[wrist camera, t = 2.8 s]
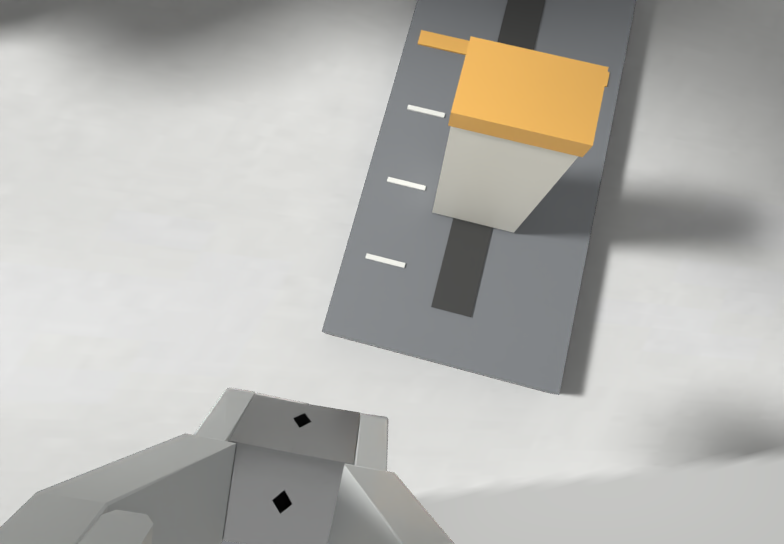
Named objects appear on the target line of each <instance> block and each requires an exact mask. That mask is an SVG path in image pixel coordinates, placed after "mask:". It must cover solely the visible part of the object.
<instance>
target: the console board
mask: <svg viewBox="0 0 784 544" xmlns="http://www.w3.org/2000/svg"><path fill="white" fill-rule="evenodd" d="M635 4H636V0H418V1H417V4H416V8H415V11H414V14H413V18H412V21H411V25H410V28H409V32H408V35H407V39H406V42H405V46H404V49H403V52H402V56H401V59H400V63H399V66H398V70H397V73H396V77H395V80H394V84H393V87H392V91H391V94H390V97H389V101H388V104H387V108H386V111H385V115H384V118H383V122H382V125H381V129H380V132H379V135H378V139H377V142H376V146H375V149H374V153H373V156H372V160H371V163H370V167H369V170H368V174H367V177H366V180H365V184H364V187H363V191H362V194H361V198H360V201H359V205H358V208H357V212H356V215H355V218H354V222H353V225H352V229H351V232H350V236H349V239H348V243H347V246H346V250H345V253H344V257H343V260H342V263H341V267H340V270H339V274H338V277H337V281H336V284H335V288H334V291H333V295H332V298H331V301H330V305H329V308H328V312H327V315H326V319H325V322H324V326H323V329H322V332H324V333H326V334H330V335H333V336H337V337H341V338H345V339H348V340H352V341H356V342H360V343H363V344H367V345H371V346H375V347H378V348H382V349H386V350H390V351H393V352H397V353H401V354H405V355H408V356H412V357H416V358H419V359H423V360H427V361H431V362H434V363H438V364H442V365H446V366H449V367H453V368H457V369H461V370H464V371H468V372H472V373H476V374H479V375H483V376H487V377H491V378H494V379H498V380H502V381H506V382H509V383H513V384H517V385H521V386H524V387H528V388H532V389H536V390H539V391H543V392H547V393H552V394H558V395H559V393H560V388H561V383H562V378H563V373H564V368H565V363H566V357H567V352H568V347H569V342H570V337H571V332H572V327H573V322H574V316H575V311H576V306H577V301H578V296H579V291H580V286H581V281H582V275H583V270H584V265H585V260H586V255H587V250H588V245H589V240H590V234H591V229H592V224H593V219H594V214H595V209H596V204H597V199H598V193H599V188H600V183H601V178H602V173H603V168H604V163H605V158H606V152H607V147H608V142H609V137H610V132H611V127H612V122H613V117H614V111H615V106H616V101H617V96H618V91H619V86H620V81H621V75H622V70H623V65H624V60H625V55H626V50H627V45H628V40H629V34H630V29H631V24H632V19H633V14H634V9H635ZM471 36H472V37H476V38H481V39H485V40H490V41H494V42H499V43H503V44H507V45H512V46H516V47H521V48H525V49H530V50H534V51H539V52H543V53H548V54H552V55H557V56H561V57H566V58H570V59H574V60H579V61H583V62H588V63H592V64H597V65H601V66H606V67H609V68H608V73H607V78H606V82H605V87H604V92H603V97H602V102H601V107H600V112H599V117H598V122H597V127H596V132H595V137H594V142H593V146H592V147H591V148H590V149H589V151H588V152H587V153H586V154H585V155H584V156H583V157H578V158H577V159H576V160H575V161H574V162H573V164H572V165H571V166H570V167H569V168H568V170H567V171H566V172H565V173H564V174H563V175H562V177H561V178H560V179H559V180H558V181H557V182H556V184H555V185H554V186H553V187H552V188H551V190H550V191H549V192H548V193H547V194H546V195H545V197H544V198H543V199H542V200H541V201H540V202H539V204H538V205H537V206H536V207H535V208H534V210H533V211H532V212H531V213H530V214H529V215H528V217H527V218H526V219H525V220H524V221H523V222H522V224H521V225H520V226H519V227H518V228H517V229H516V231H515V232H514V233H513V232H509V231H505V230H501V229H497V228H493V227H489V226H485V225H481V224H477V223H472V222H468V221H464V220H460V219H456V218H452V217H448V216H444V215H440V214H436V213H432V211H433V207H434V202H435V197H436V193H437V188H438V183H439V179H440V174H441V169H442V165H443V160H444V155H445V150H446V146H447V141H448V136H449V132H450V127H451V126H448V123H449V118H450V114H451V109H452V106H453V102H454V98H455V94H456V90H457V87H458V83H459V79H460V75H461V71H462V68H463V64H464V60H465V56H466V52H467V48H468V45H469V41H470V37H471Z"/></svg>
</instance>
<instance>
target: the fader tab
mask: <svg viewBox="0 0 784 544" xmlns="http://www.w3.org/2000/svg"><path fill="white" fill-rule="evenodd" d="M608 68H609V67H606V66H601V65H597V64H592V63H588V62H583V61H579V60H574V59H570V58H566V57H561V56H557V55H552V54H548V53H543V52H539V51H534V50H530V49H525V48H521V47H516V46H512V45H507V44H503V43H499V42H494V41H490V40H485V39H481V38H476V37H472V36H471V37H470V41H469V45H468V48H467V52H466V56H465V60H464V64H463V68H462V71H461V75H460V79H459V83H458V87H457V90H456V94H455V98H454V102H453V106H452V109H451V114H450V118H449V123H448V126H451V127H450V132H449V136H448V141H447V146H446V150H445V155H444V160H443V165H442V169H441V174H440V179H439V183H438V188H437V193H436V197H435V202H434V207H433V211H432V213H436V214H440V215H444V216H448V217H452V218H456V219H460V220H464V221H468V222H472V223H477V224H481V225H485V226H489V227H493V228H497V229H501V230H505V231H509V232H513V233H514V232H515V231H516V229H517V228H518V227H519V226H520V225H521V224H522V222H523V221H524V220H525V219H526V218H527V217H528V215H529V214H530V213H531V212H532V211H533V210H534V208H535V207H536V206H537V205H538V204H539V202H540V201H541V200H542V199H543V198H544V197H545V195H546V194H547V193H548V192H549V191H550V190H551V188H552V187H553V186H554V185H555V184H556V182H557V181H558V180H559V179H560V178H561V177H562V175H563V174H564V173H565V172H566V171H567V170H568V168H569V167H570V166H571V165H572V164H573V162H574V161H575V160H576V159H577V158H578V157H583V156H584V155H585V154H586V153H587V152H588V151H589V149H590V148H591V147H592V146H593V142H594V137H595V132H596V127H597V122H598V117H599V112H600V107H601V102H602V97H603V92H604V87H605V82H606V78H607V73H608Z"/></svg>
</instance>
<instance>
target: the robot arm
mask: <svg viewBox="0 0 784 544" xmlns="http://www.w3.org/2000/svg"><path fill="white" fill-rule="evenodd" d="M387 449H388V418H387V417H384V416H377V415H370V414H364V413H361V415H360V413H359V412H353V411H347V410H341V409H335V408H329V407H323V406H317V405H311V404H308V403H303V402H299V401H294V400H289V399H284V398H280V397H275V396H270V395H266V394H261V393H255V392H253V391H247V390H242V389H236V388H227V389H226V390H225V391H224V392H223V394H222V395H221V396H220V398H219V399H218V401H217V402H216V404H215V405H214V406H213V408H212V409H211V411H210V412H209V414H208V415H207V416H206V418H205V419H204V421H203V422H202V424H201V425H200V426H199V428H198V429H197V431H196V432H195V434H194V435H191V434H183V435H180V436H178V437H175V438H173V439H170V440H168V441H165V442H163V443H160V444H157V445H155V446H152V447H150V448H147V449H145V450H142V451H140V452H137V453H135V454H132V455H130V456H127V457H125V458H122V459H119V460H117V461H114V462H112V463H109V464H107V465H104V466H102V467H99V468H97V469H94V470H92V471H89V472H87V473H84V474H81V475H79V476H76V477H74V478H71V479H69V480H66V481H64V482H61V483H59V484H56V485H54V486H51V487H48V488H46V489H43V490H41V491H38V492H36V493H35V494H34V495H33V496H32V497H31V498H30V499H29V500H28V501H27V502H26V503H25V504H24V505H23V506H22V507H21V508H20V509H19V510H18V511H17V512H16V513H15V514H14V515H13V516H12V517H10V518H9V519H8V520H7V521H6V522H5V523H4V524H3V525H2V526H1V527H0V544H221V543H222V541H230V542H236V543H242V544H454V543H453V541H452V540H451V539H450V538H449V537H448V535H447V534H446V533H445V532H444V531H443V529H442V528H441V527H440V526H439V525H438V524H437V522H436V521H435V520H434V519H433V518H432V516H431V515H430V514H429V513H428V512H427V511H426V509H425V508H424V507H423V506H422V505H421V503H420V502H419V501H418V500H417V499H416V498H415V496H414V495H413V494H412V493H411V492H410V490H409V489H408V488H407V487H406V486H405V484H404V483H403V482H402V481H401V480H400V479H399V477H398V476H397V475H396V474H395V473H393V472H388V471H387Z"/></svg>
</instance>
